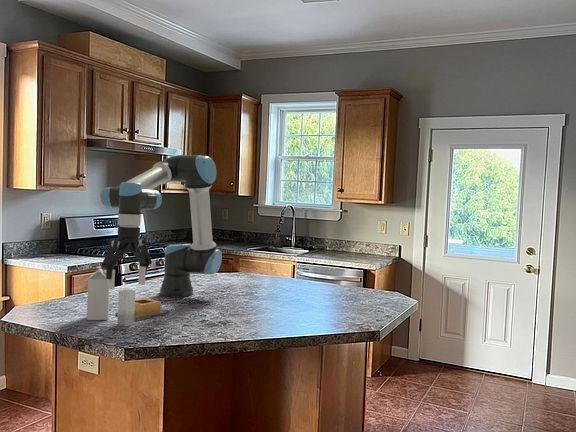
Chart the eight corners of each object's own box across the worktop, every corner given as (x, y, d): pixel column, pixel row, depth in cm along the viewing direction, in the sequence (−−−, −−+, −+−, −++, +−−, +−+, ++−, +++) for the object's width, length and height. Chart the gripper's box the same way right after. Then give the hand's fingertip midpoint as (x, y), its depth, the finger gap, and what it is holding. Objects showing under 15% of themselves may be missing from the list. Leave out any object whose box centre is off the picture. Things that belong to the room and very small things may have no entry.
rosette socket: (147, 308, 210) (148, 296, 210) (169, 313, 204) (169, 300, 204) (115, 315, 197) (115, 302, 197) (137, 320, 190) (137, 307, 190)
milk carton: (86, 320, 187) (88, 268, 186) (88, 316, 194) (90, 265, 193) (107, 320, 189) (109, 268, 188) (108, 315, 196) (110, 265, 195)
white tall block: (126, 322, 188) (127, 289, 187) (134, 324, 185) (135, 290, 185) (117, 324, 184) (118, 290, 184) (125, 326, 182) (126, 292, 182)
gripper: (148, 225, 196) (146, 281, 197) (91, 226, 175) (89, 289, 176) (163, 226, 192) (160, 284, 192) (106, 227, 171) (103, 292, 171)
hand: (126, 286), depth 184 cm, fingers open, 13 cm apart
